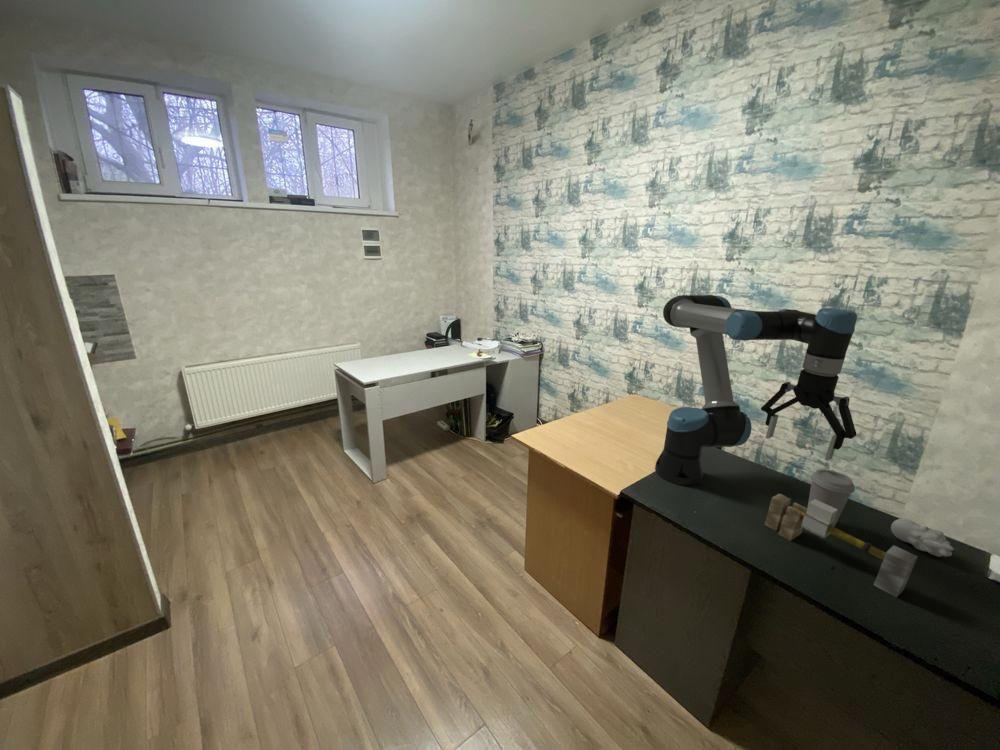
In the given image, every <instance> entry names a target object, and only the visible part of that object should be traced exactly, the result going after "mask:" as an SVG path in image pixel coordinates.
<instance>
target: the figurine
mask: <svg viewBox="0 0 1000 750" xmlns="http://www.w3.org/2000/svg"><path fill="white" fill-rule="evenodd" d="M890 531H891V533H892V534H893V535H894V537H896V538H897V539H899V540H901V541H902V542H904V543H909V544H911V545H912V546H913V548H915V549H916V550H918V551H922V552H927V553H928V554H929V555H932V556H935V557H939V558H941V557H952V555H953V551H954V550H955V549H954V547H953V546H951V542H950V541H948V540H947V537H946V535H944V532H943V531H942V530H939V529H934V528H931V527H928V526H926V525H921V524H919V523H917V522H916V521H914V520H911V519H907V518H898V519H895V520H894V521H893V522H892V524H891V525H890Z"/></svg>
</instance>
